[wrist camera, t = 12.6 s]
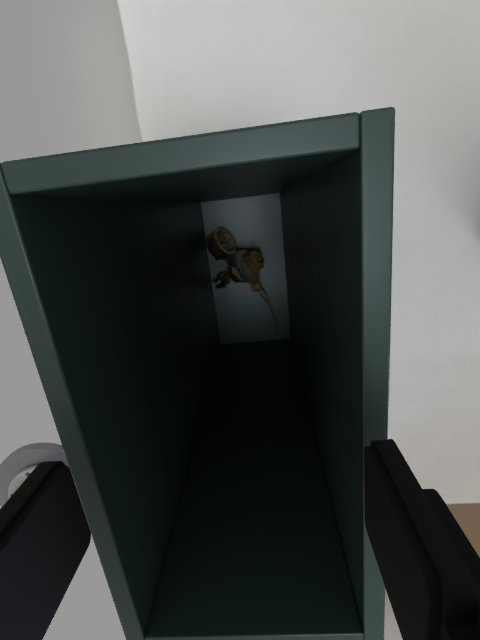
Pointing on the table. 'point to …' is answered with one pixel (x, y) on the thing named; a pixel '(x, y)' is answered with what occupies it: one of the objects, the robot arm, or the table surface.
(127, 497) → the wastebasket
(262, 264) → the regulator
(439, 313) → the table surface
